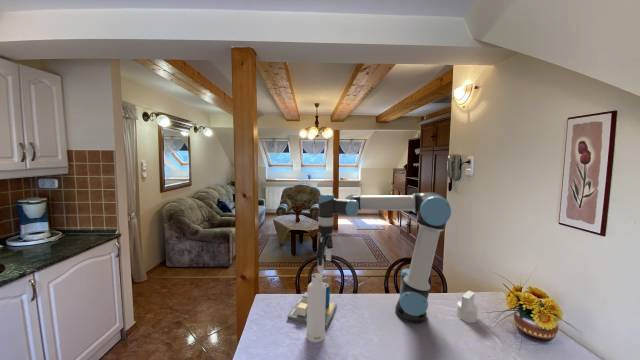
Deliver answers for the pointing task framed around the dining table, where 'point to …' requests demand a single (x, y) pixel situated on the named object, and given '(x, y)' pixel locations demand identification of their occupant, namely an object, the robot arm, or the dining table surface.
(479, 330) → the dining table surface
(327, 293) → the beverage can
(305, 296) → the toggle
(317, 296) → the bottle
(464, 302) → the cylinder with rectangular tab
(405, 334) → the dining table surface
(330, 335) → the dining table surface
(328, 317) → the breaker panel
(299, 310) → the toggle
